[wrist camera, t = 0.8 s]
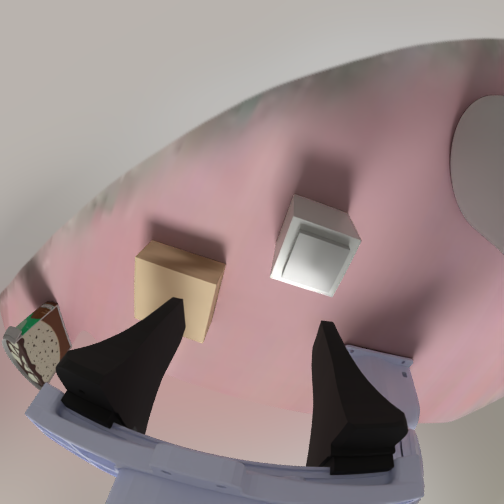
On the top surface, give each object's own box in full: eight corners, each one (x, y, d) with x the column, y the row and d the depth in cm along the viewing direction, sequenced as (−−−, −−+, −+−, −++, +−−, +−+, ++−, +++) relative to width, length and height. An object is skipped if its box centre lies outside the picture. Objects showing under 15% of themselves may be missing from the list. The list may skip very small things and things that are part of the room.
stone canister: (347, 213, 20) (363, 245, 15) (326, 260, 22) (333, 302, 17) (294, 193, 20) (293, 219, 15) (275, 243, 22) (269, 282, 17)
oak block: (226, 262, 24) (216, 284, 21) (212, 319, 27) (202, 343, 24) (153, 238, 24) (135, 256, 21) (149, 296, 27) (134, 317, 24)
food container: (30, 282, 31) (-12, 321, 22) (55, 295, 30) (12, 341, 22) (49, 338, 37) (19, 376, 28) (74, 352, 36) (44, 394, 28)
